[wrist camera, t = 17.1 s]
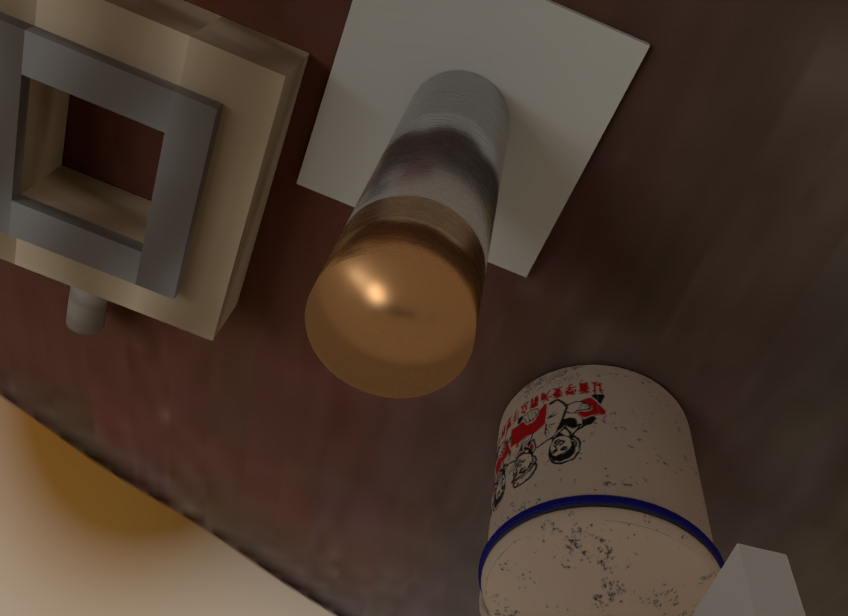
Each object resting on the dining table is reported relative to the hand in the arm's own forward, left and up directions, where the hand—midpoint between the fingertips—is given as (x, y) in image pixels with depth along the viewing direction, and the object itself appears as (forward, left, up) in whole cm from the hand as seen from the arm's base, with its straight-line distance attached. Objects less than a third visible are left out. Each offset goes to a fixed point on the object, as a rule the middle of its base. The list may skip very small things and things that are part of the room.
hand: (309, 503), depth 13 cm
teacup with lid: (+11, -13, -20) cm, 27 cm away
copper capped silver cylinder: (0, 0, -20) cm, 20 cm away
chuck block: (-12, -8, -20) cm, 24 cm away
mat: (0, 0, -20) cm, 20 cm away
